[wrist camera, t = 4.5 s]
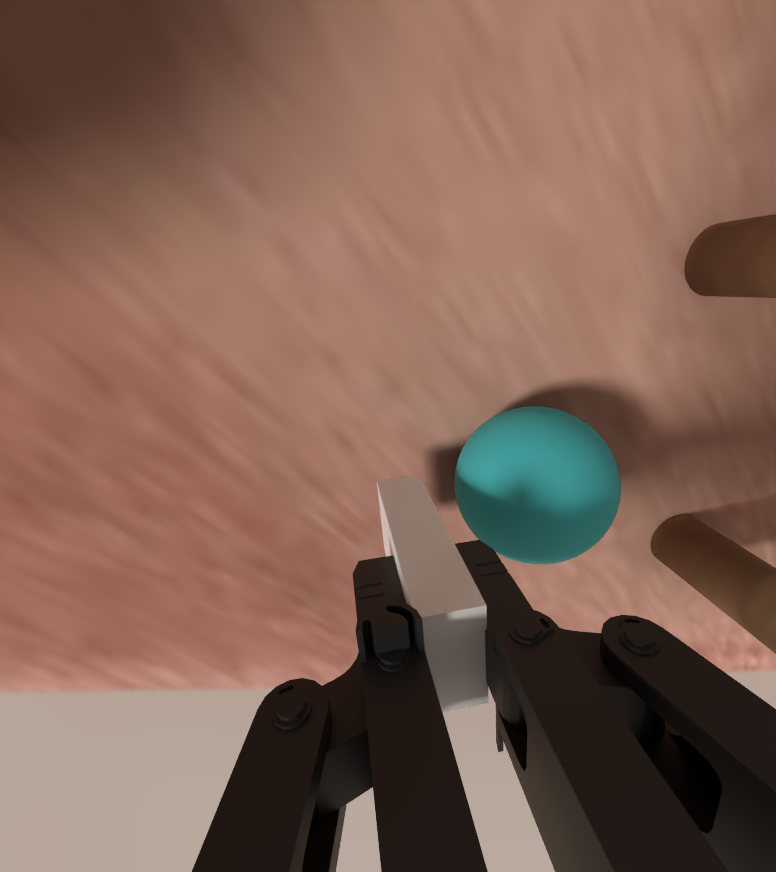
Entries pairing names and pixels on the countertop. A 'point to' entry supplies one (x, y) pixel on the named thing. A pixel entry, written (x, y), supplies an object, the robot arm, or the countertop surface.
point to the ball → (537, 485)
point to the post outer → (721, 573)
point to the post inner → (734, 259)
